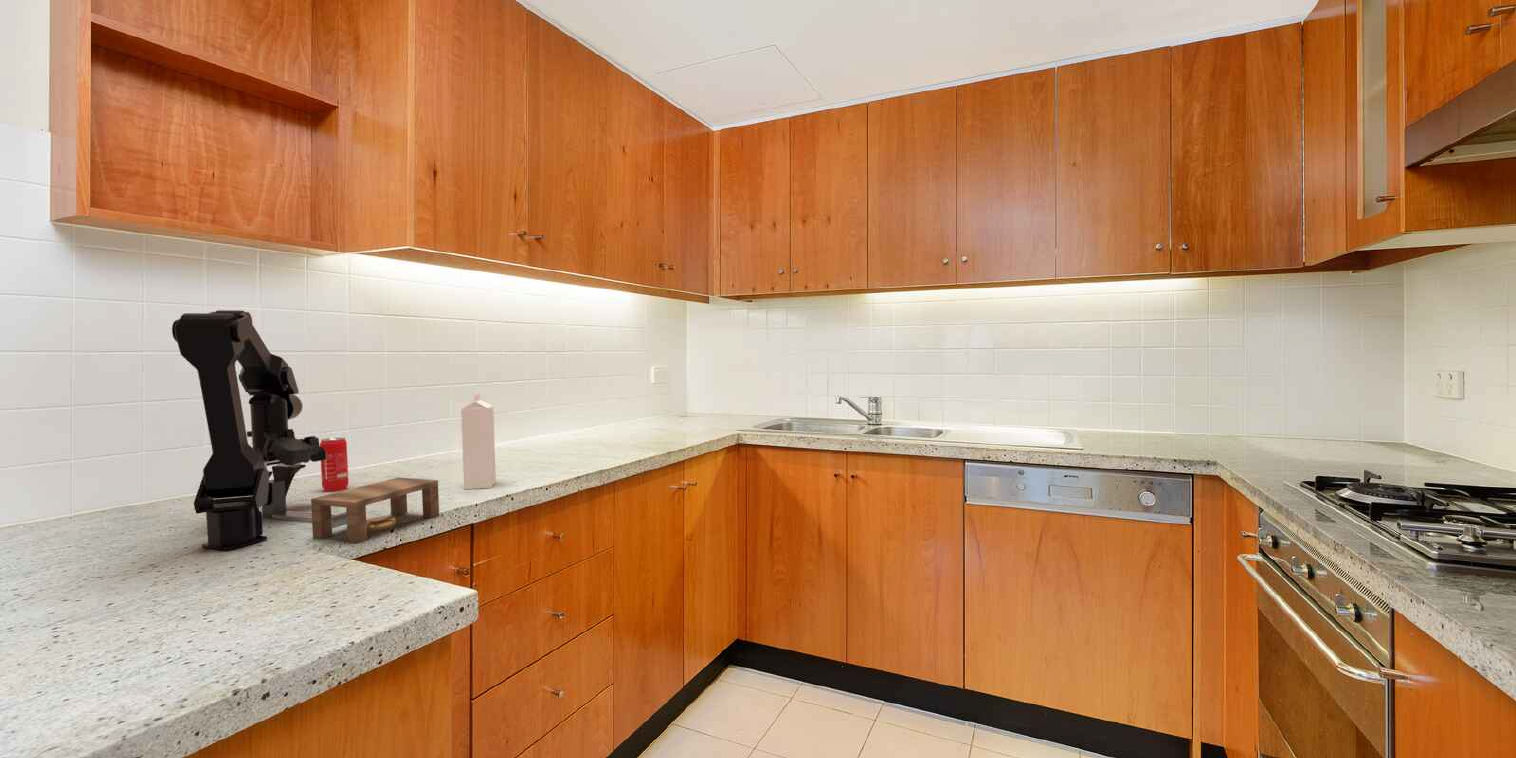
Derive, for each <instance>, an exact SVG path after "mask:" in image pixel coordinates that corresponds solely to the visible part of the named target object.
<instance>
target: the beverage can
mask: <svg viewBox="0 0 1516 758" xmlns="http://www.w3.org/2000/svg"><path fill="white" fill-rule="evenodd" d="M319 446H321V447H323V448H324V449H325V451H326V458H327V459H326V460H321V461H320V470H321V488H322V489H323V490H324V492H326V493H328V492H329V493H330V492H331V493H332V492H333V493H335V492H341V491H345V490H348V486H349V465H348V462H349V461H348V444H347V439H346V438H345V437H330V438H329V437H327V438H322V439H321V440H320V442H319Z"/></svg>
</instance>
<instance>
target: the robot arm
mask: <svg viewBox="0 0 1516 758" xmlns="http://www.w3.org/2000/svg"><path fill="white" fill-rule="evenodd" d="M171 333H172V334H171V335H172V337H173V340H174V341H175V342H176V343H177V346H178V349H179V353H180V355H181V356H182V357H183V359H185V360H186V361H187V362H188V363H189V364H190V365H191V366H192V367H193V368H195V369H196V370H197V374H198V379H199V386H200V391H201V397H202V402H203V407H204V414H205V417H206V424H207V428H208V435H209V439H210V440H209V441H210V445H211V450H212V454H211V456H210V457H209V459H208V461H207V462H206V464H205V466H204V468H203V470H202V478H201V481H200V484H199V487H198V490H197V492H196V495H195V498H194V501H193V506H194V507H193V509H194V510H195V514H202V513H203V514H204V513H205V515H206V533H207V542H206V543H202V544H201V548H203V549H211V550H219V551H231V550H234V549H238V548H241V547H245V546H248V545H252V544H256V543H260V542H262V541H266V540H268V536H267V535H263V533H264V532H263V531H264V530H263V529H264V528H263V513H262V512H261V511H260V508H262V506H263V505H266V506H267V505H269V504H270V489H269V480H270V478H271V476H273V480H285V494H286V496H287V494H288V492H289V489H290V487H291V484H292V482H293V479H294V477H295V475H296V474H297V473H298V472H299V471H300V470H301V469H305V468H306V466H307V465H306V463H309V462H310V461H311V462H313V463H316V462H321V460H326V459H327V458H326V451H325V449H324V448H323V447H321V446H320V439H319V437H317V436H315V435H311V436H305V437H304V438H299V439H298V438H296V435H295V431H294V429H293V428H289V424H288V423H289V421H290V420H292V419H295V418H297V417H298V416H299V415H300V414H301V413H302V410H303V402H302V400H301V399H300V398H299V396H297V394H299V391H300V390H299V387H298V384H297V381H296V378H295V375H294V371H293V369H292V367H291V366H289V364H288V363H287V362H286V361H285V359H284V358H283V357H281V356H279V355H276V354H274V353H271V352H270V350H269V349H268V347H267V346H266V344H265V342H264V341H263V339H262V338H261V336H260V334H259V332H258V331H257V330H256V327H254V325H253V317H252V314H251V312H248V311H245V310H239V309H238V310H229V309H227V310H225V309H222V310H221V309H220V310H219V309H217V310H216V311H211V312H207V313H200V312H198V313H196V312H194V313H191V312H186V313H183V314H181V315H180V318H179V319H175V320H174V321H173V323H172V327H171ZM237 362H238V363H239V365H240V366H241V370H240V371H239V374H238V376H237V370H236V363H237ZM238 380H239V382H240V384H241V385H242V387H243V389H244V391H245V393H247V394H248V395H249V396H251V397H250V398H249V400H248V405H249V407H250V423H251V425H250V426H251V430H249V431H247V430H246V424H245V417H244V412H243V407H242V400H241V394H240V387H239V382H238ZM248 437H249V438H251V442H252V443H251V444H252V446H251V445H250V444H249V442H248ZM302 463H303V464H302ZM269 466H271V471H269V470H268V467H269Z"/></svg>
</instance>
